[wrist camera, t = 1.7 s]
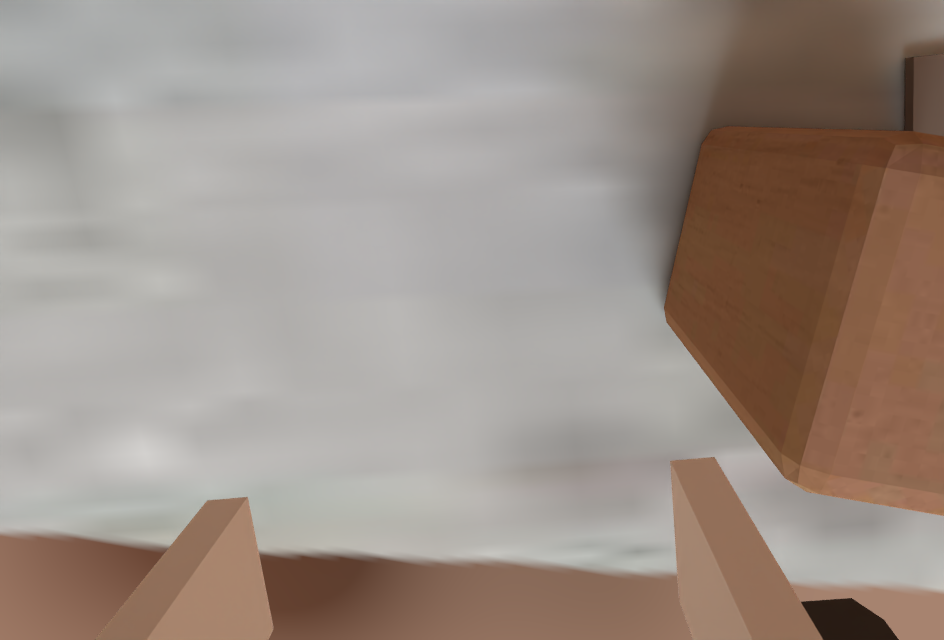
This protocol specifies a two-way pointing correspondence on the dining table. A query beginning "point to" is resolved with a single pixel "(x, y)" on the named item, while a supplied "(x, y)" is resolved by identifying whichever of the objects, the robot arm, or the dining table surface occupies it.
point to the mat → (925, 94)
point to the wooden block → (823, 303)
